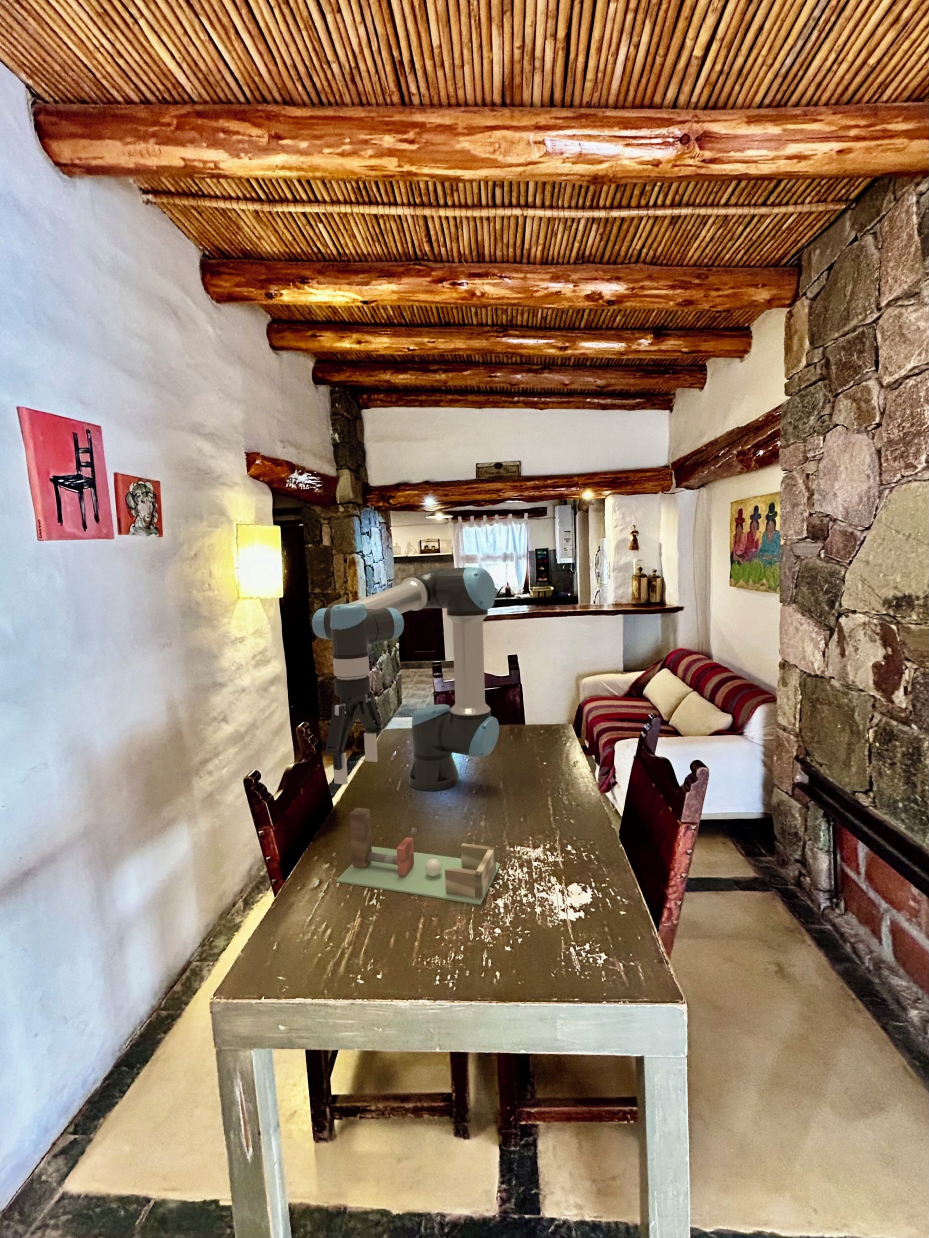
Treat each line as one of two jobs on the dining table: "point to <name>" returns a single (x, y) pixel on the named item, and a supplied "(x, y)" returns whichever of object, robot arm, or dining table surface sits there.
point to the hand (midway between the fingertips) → (357, 771)
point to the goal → (471, 871)
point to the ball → (433, 867)
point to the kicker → (364, 849)
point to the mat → (409, 877)
